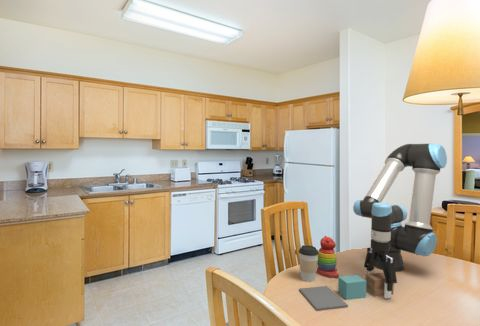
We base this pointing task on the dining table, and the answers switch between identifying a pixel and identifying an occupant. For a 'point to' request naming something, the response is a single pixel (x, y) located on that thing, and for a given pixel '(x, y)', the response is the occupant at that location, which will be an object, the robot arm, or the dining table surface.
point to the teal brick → (352, 287)
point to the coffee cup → (308, 263)
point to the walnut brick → (376, 284)
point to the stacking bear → (327, 258)
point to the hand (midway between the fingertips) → (378, 291)
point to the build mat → (322, 298)
